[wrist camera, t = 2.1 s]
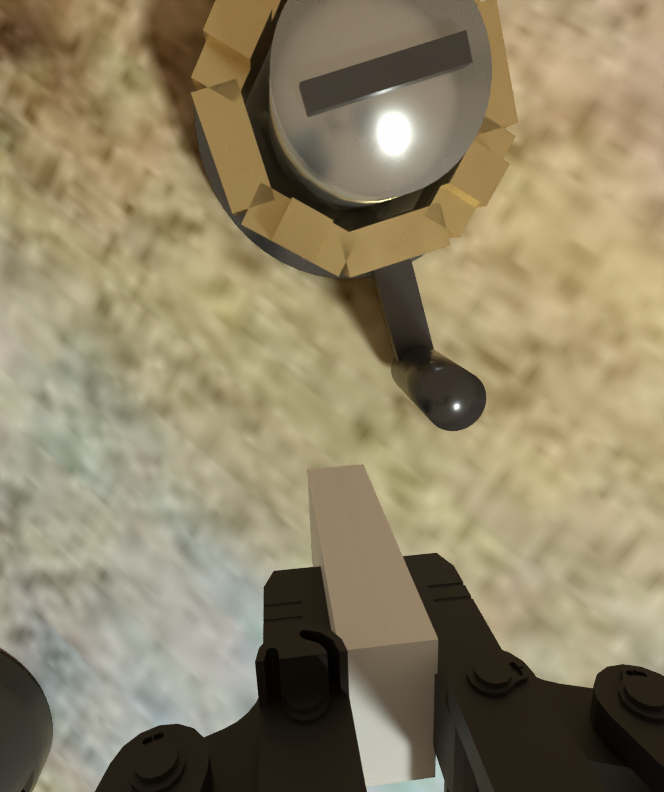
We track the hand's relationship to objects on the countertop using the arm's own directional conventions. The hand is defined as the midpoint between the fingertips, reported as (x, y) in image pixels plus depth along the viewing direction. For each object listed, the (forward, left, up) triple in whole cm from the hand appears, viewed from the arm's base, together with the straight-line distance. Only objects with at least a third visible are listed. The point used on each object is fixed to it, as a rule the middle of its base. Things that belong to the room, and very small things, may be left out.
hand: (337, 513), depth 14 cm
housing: (+6, +11, -17) cm, 21 cm away
